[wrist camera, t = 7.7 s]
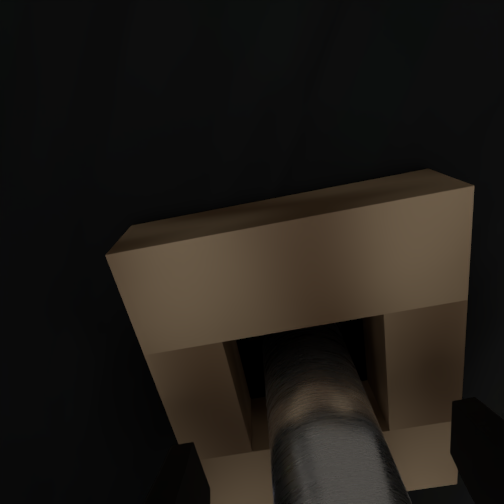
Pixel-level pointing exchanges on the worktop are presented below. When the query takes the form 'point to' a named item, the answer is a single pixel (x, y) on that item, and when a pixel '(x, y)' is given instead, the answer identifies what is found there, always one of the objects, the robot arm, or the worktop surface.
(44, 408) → the worktop surface
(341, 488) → the metal peg
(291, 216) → the socket plate
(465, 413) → the robot arm
